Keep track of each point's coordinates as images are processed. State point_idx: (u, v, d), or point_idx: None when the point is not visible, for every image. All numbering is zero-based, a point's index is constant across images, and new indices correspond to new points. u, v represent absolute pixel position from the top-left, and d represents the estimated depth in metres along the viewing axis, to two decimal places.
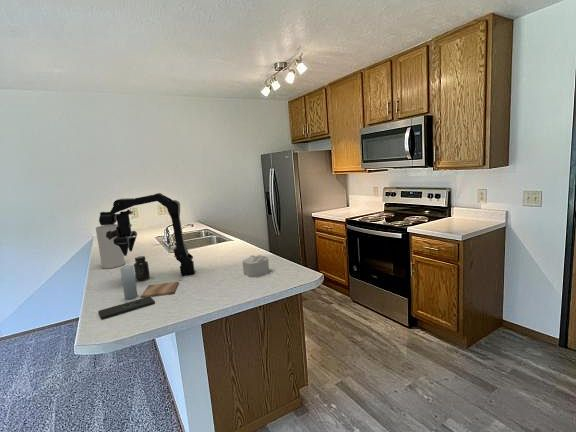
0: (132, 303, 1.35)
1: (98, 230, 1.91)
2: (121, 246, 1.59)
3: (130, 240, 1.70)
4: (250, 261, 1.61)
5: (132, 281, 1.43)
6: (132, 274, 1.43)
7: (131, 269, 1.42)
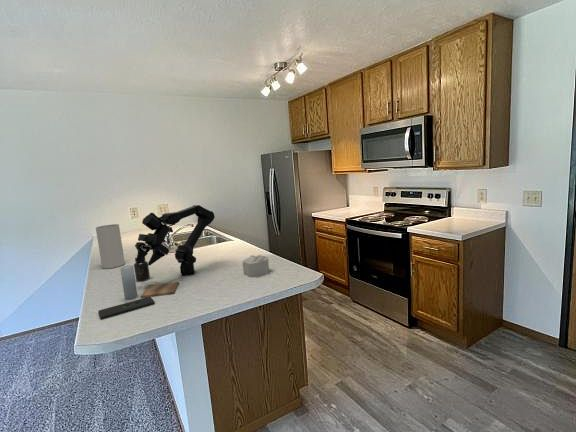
0: (132, 303, 1.35)
1: (98, 230, 1.91)
2: (155, 254, 1.49)
3: (143, 253, 1.56)
4: (250, 261, 1.61)
5: (132, 281, 1.43)
6: (132, 274, 1.43)
7: (131, 269, 1.42)
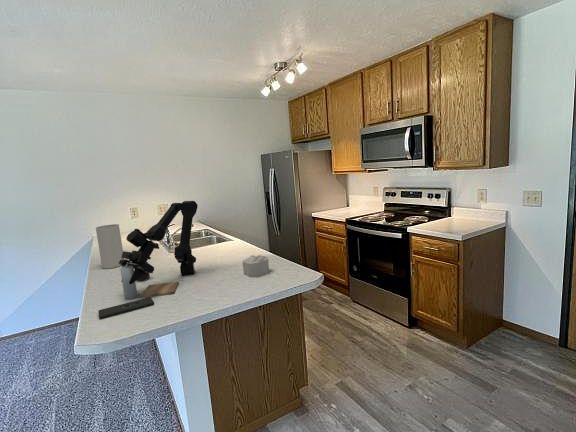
0: (132, 303, 1.35)
1: (98, 230, 1.91)
2: (137, 272, 1.43)
3: None
4: (250, 261, 1.61)
5: None
6: (132, 274, 1.43)
7: (131, 269, 1.42)
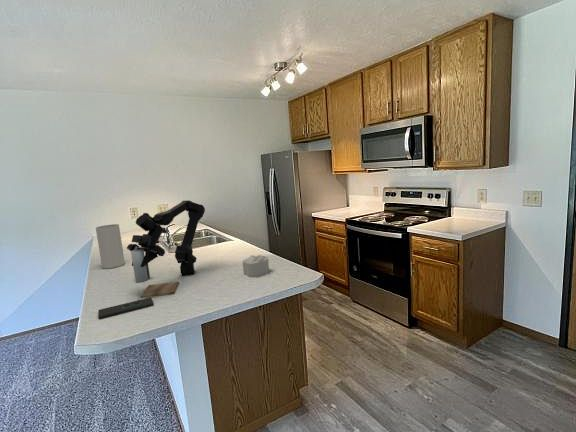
0: (132, 304, 1.34)
1: (98, 230, 1.91)
2: (148, 256, 1.44)
3: None
4: (250, 261, 1.61)
5: None
6: (143, 257, 1.44)
7: (142, 252, 1.44)
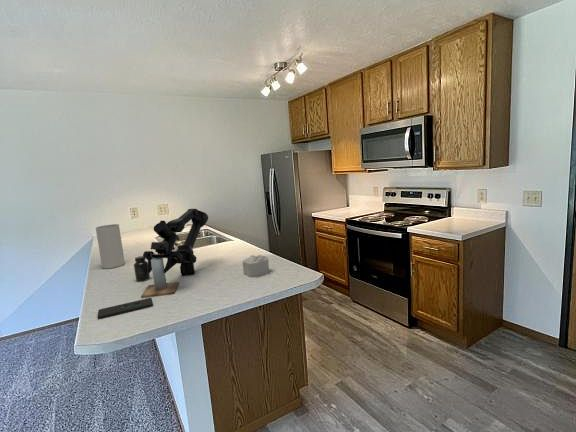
0: (132, 304, 1.34)
1: (98, 230, 1.91)
2: (170, 262, 1.49)
3: None
4: (250, 261, 1.61)
5: (163, 272, 1.49)
6: (163, 265, 1.49)
7: (162, 260, 1.49)
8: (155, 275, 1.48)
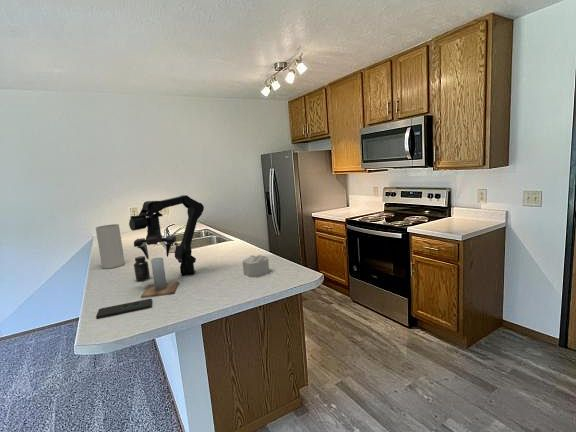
0: (131, 304, 1.34)
1: (98, 230, 1.91)
2: None
3: (145, 247, 1.58)
4: (250, 261, 1.61)
5: (163, 272, 1.49)
6: (163, 265, 1.49)
7: (162, 261, 1.49)
8: (155, 275, 1.48)
